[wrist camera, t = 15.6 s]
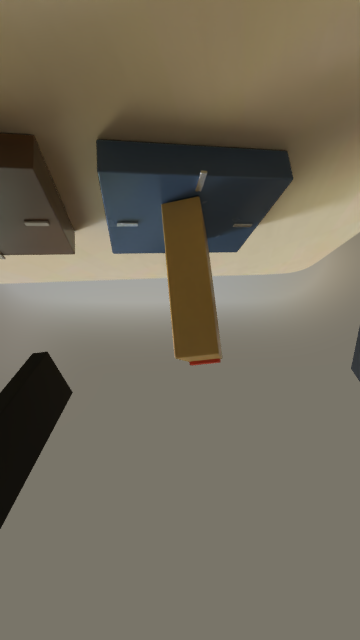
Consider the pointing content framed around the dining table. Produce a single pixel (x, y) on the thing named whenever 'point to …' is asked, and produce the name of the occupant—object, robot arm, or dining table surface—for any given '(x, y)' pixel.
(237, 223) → the blue base
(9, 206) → the walnut base
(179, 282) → the red-tipped wooden block
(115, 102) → the dining table surface
